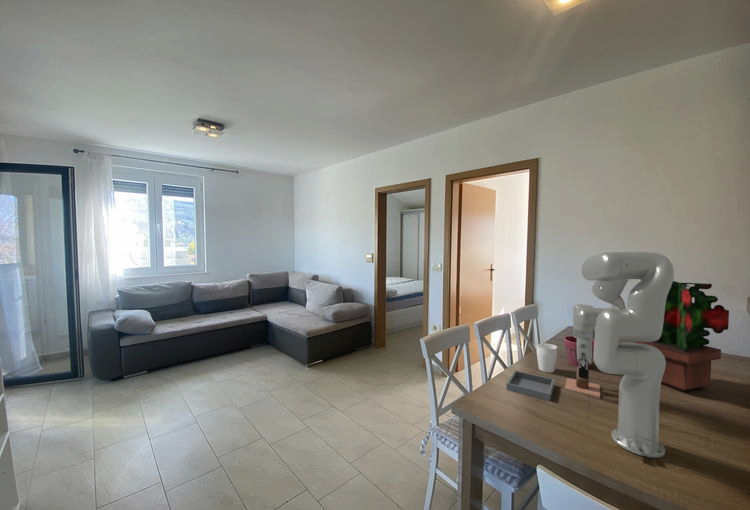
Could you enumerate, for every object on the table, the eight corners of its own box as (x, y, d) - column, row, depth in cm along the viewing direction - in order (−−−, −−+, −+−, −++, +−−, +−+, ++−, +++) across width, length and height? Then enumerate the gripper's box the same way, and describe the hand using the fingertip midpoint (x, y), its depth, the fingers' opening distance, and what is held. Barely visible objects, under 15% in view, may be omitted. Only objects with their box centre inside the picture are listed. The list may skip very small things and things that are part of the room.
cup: (560, 374, 144) (560, 349, 144) (539, 373, 146) (539, 348, 145) (553, 366, 153) (553, 343, 152) (533, 365, 155) (534, 342, 154)
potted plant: (689, 399, 121) (693, 287, 119) (629, 376, 142) (632, 280, 140) (725, 391, 127) (730, 284, 125) (662, 370, 148) (666, 278, 146)
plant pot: (603, 367, 152) (604, 342, 151) (584, 372, 146) (585, 346, 146) (575, 357, 165) (575, 334, 164) (557, 361, 160) (557, 337, 159)
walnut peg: (588, 390, 127) (588, 371, 127) (575, 387, 130) (576, 368, 129) (588, 386, 131) (589, 367, 130) (576, 383, 133) (576, 365, 133)
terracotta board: (600, 398, 122) (600, 396, 122) (564, 390, 129) (564, 388, 129) (599, 387, 132) (599, 384, 131) (566, 379, 139) (567, 377, 138)
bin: (549, 403, 119) (550, 394, 119) (506, 391, 128) (506, 383, 128) (554, 387, 132) (554, 379, 132) (514, 377, 141) (514, 370, 141)
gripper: (594, 340, 120) (594, 383, 120) (594, 331, 134) (594, 369, 134) (572, 337, 124) (571, 378, 124) (574, 328, 138) (574, 365, 138)
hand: (583, 374), depth 129 cm, fingers open, 9 cm apart
